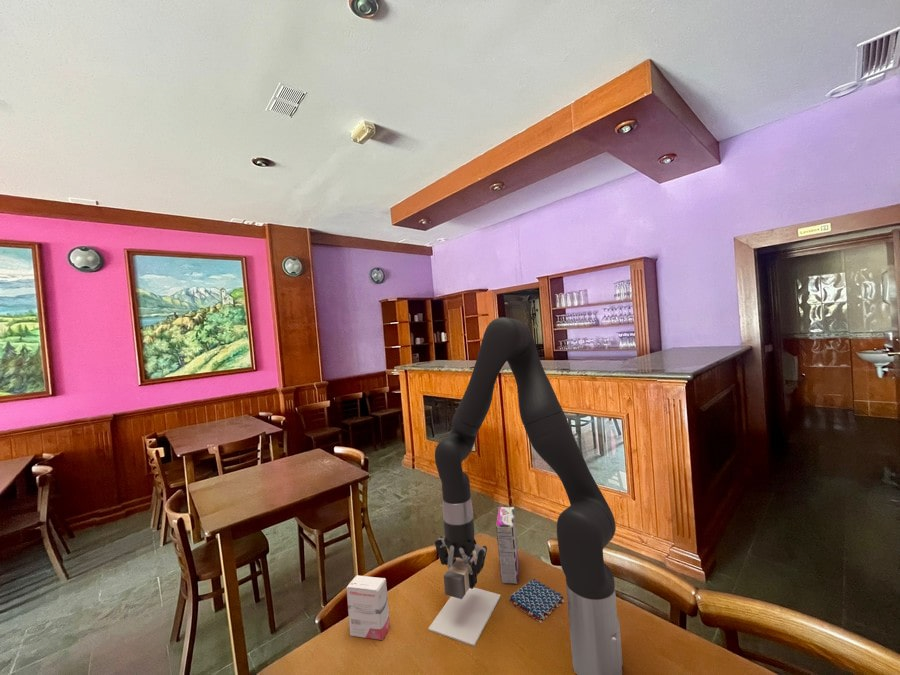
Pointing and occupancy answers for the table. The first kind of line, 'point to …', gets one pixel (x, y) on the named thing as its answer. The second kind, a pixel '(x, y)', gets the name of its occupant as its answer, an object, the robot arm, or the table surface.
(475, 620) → the white rectangular board
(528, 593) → the woven mat
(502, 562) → the candy bar box
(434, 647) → the table surface
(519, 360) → the robot arm
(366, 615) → the ink box
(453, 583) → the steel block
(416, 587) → the table surface
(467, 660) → the table surface
